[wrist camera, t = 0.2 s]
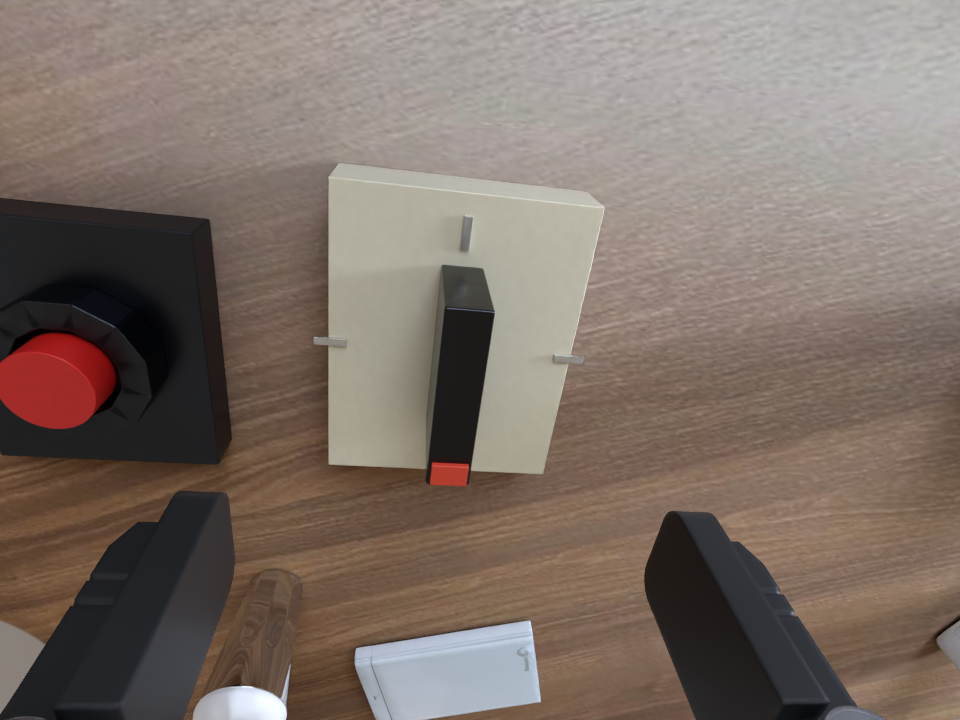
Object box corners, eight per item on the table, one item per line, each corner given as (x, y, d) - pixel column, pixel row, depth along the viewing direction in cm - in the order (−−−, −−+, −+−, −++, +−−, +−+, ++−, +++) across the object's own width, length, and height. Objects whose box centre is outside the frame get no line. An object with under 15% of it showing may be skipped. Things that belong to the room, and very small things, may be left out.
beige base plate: (324, 160, 24) (311, 175, 21) (599, 192, 25) (620, 210, 23) (325, 428, 30) (315, 466, 28) (543, 440, 32) (554, 476, 29)
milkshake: (268, 624, 38) (221, 797, 29) (225, 574, 35) (159, 747, 26) (330, 605, 37) (302, 775, 29) (292, 553, 35) (247, 722, 26)
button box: (-45, 193, 23) (-128, 218, 20) (209, 218, 25) (174, 246, 21) (28, 428, 29) (-26, 481, 25) (232, 438, 30) (206, 489, 27)
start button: (11, 328, 22) (-19, 348, 21) (108, 335, 23) (85, 355, 21) (33, 403, 24) (7, 427, 23) (123, 408, 25) (103, 431, 23)
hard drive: (533, 637, 38) (353, 667, 38) (541, 704, 42) (379, 732, 42) (529, 616, 40) (355, 644, 39) (538, 683, 44) (380, 709, 43)
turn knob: (441, 263, 23) (444, 309, 19) (484, 267, 23) (496, 314, 19) (425, 421, 27) (425, 488, 23) (462, 423, 27) (469, 490, 23)
